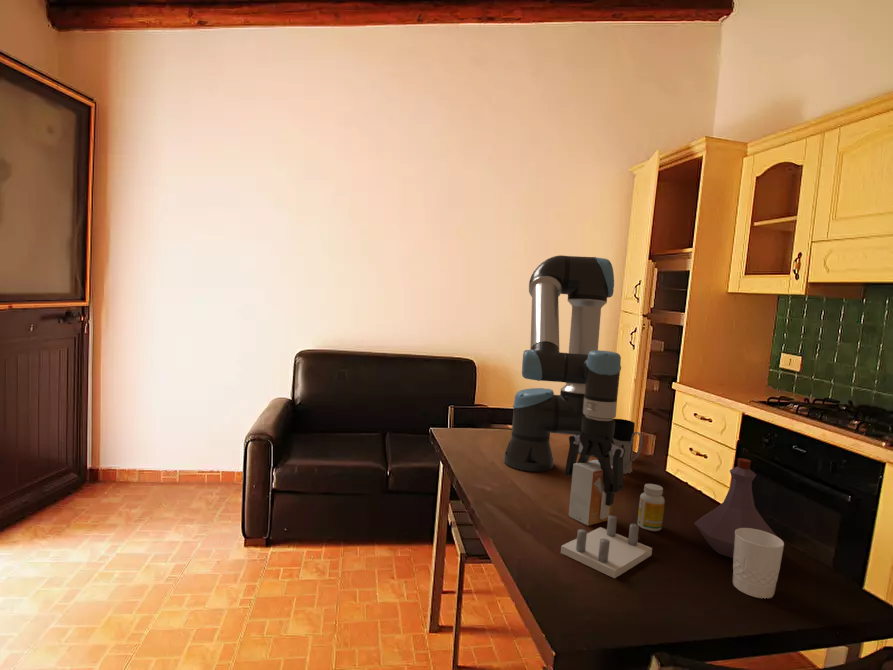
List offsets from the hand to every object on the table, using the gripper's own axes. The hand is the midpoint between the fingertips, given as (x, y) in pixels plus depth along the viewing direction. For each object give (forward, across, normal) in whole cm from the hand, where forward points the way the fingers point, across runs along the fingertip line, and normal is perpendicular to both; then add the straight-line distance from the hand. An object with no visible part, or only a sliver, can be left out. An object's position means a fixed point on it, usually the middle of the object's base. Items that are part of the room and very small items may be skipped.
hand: (590, 511), depth 127 cm
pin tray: (+2, +12, -13) cm, 18 cm away
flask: (+2, +28, +12) cm, 31 cm away
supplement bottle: (+2, +11, +8) cm, 14 cm away
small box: (+2, 0, 0) cm, 2 cm away
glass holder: (+2, -13, +40) cm, 42 cm away
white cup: (+2, +36, -2) cm, 36 cm away
